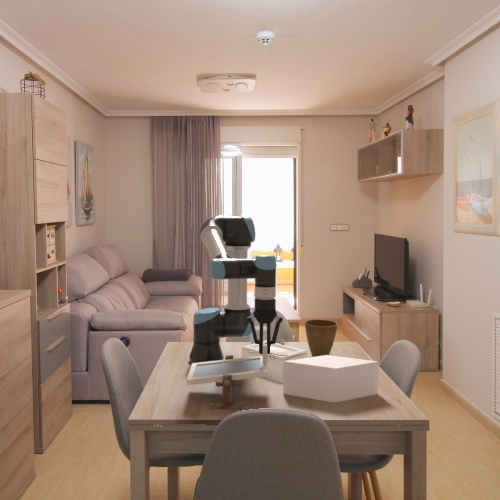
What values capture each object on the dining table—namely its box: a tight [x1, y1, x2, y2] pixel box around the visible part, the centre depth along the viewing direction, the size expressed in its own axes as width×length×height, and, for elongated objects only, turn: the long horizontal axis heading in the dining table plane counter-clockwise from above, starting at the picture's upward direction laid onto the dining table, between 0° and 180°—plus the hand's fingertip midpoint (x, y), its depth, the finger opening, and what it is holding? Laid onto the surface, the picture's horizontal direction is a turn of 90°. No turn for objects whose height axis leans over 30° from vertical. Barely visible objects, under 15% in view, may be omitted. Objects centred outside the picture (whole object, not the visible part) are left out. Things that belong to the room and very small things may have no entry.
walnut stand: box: [211, 354, 243, 410], centre depth 190 cm, size 10×27×11 cm, turn 1°
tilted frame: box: [186, 355, 269, 386], centre depth 190 cm, size 28×21×2 cm
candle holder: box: [249, 325, 272, 345], centre depth 248 cm, size 10×10×12 cm
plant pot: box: [304, 319, 339, 357], centre depth 242 cm, size 15×15×16 cm
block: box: [282, 354, 379, 403], centre depth 193 cm, size 18×35×12 cm, turn 92°
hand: (264, 362), depth 190 cm, fingers closed
